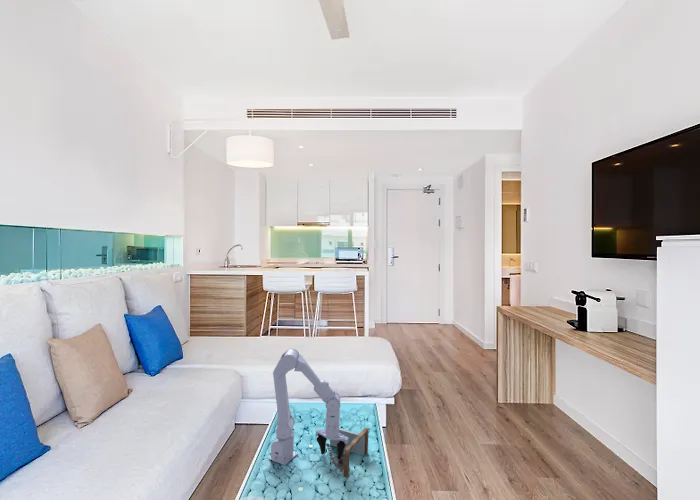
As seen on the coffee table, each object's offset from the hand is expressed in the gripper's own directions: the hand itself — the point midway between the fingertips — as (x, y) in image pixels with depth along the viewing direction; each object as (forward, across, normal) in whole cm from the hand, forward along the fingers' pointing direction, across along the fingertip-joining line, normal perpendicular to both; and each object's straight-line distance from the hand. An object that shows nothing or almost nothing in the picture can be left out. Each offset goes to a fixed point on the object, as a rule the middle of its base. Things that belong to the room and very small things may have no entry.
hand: (331, 455), depth 168 cm
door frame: (+1, -11, -1) cm, 11 cm away
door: (+1, -3, -8) cm, 9 cm away
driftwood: (+2, -2, -2) cm, 4 cm away
